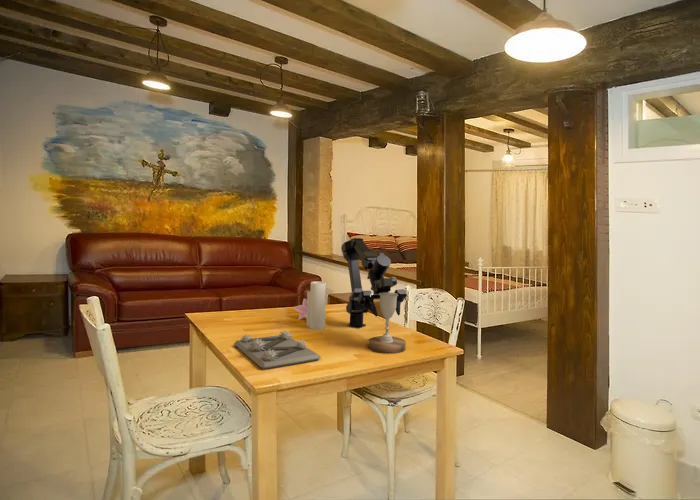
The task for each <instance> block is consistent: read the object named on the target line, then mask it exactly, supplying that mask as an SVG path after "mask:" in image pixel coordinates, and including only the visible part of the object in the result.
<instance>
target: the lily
mask: <svg viewBox="0 0 700 500" xmlns="http://www.w3.org/2000/svg"><path fill="white" fill-rule="evenodd" d="M293 309H294V311H297V312H298V313H299V316H298V319H297V320H299V321H300V320H302V319H303V318H305V319H306V320H307V298H303V301H302V304H299V305H296V306H294V307H293Z"/></svg>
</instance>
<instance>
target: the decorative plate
mask: <svg viewBox="0 0 700 500" xmlns="http://www.w3.org/2000/svg"><path fill="white" fill-rule="evenodd" d="M279 333H280V334H278V335H269V336H262V337H254V338H253V337H251V335H250V334H247V333H245V335H244V334H242V335H241V339H237V340H235V342H234V343H233V344H234V346H236V347H237V348H238V349H239V350H240V351H241V352H242V353H244V354H245V355H246V356H247V357H248V358H249V359H251V360H252V361H253V362H254V363H255V364H257V366H259V367H260V368H261V369H262V370H269V368H270V369H274V368H275V367H276V368H280V367H281V366H282V367H287V366H292V365H297V364H304V363H309V362H316V361H319V360H320V359H321V355H319V354H318V353H316V352H315V351H314V350H312V349H310V348H308V345H307V344H308V343H307V342H306V341H305V339H304V340H303V339H299V340H298V341H297V340H295V339H294V338H293V337H292V336H291V335H292V333H290V331H289V330H283V331H279Z"/></svg>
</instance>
